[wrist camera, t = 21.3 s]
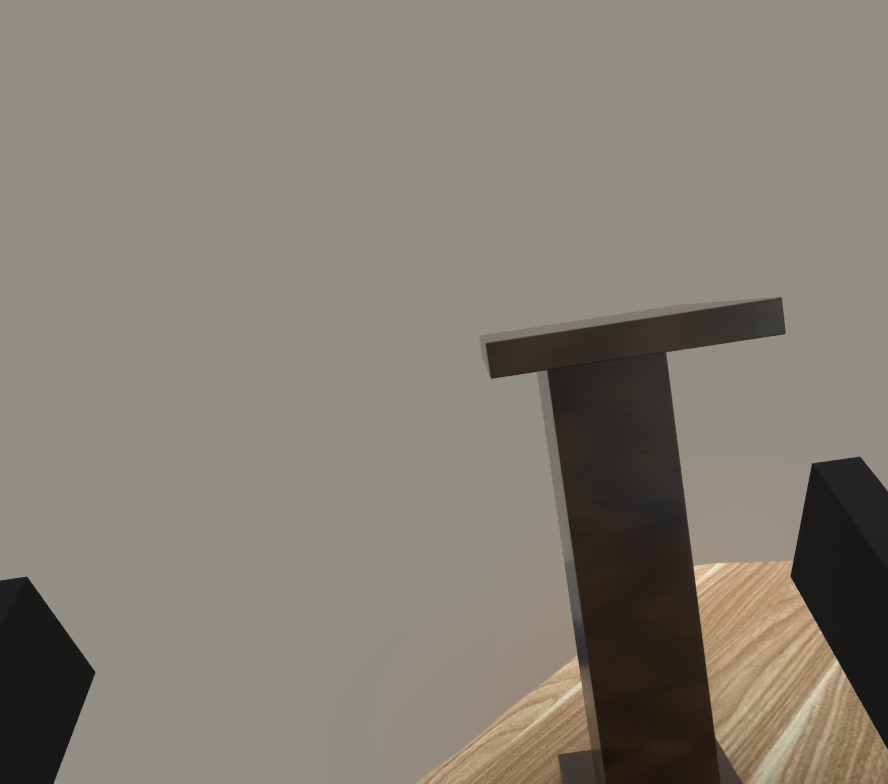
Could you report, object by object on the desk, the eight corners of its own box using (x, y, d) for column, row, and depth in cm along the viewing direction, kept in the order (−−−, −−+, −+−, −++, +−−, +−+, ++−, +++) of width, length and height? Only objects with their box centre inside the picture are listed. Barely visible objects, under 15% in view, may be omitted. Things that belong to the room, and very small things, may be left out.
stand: (580, 980, 32) (485, 342, 30) (544, 773, 47) (479, 335, 45) (855, 949, 32) (782, 297, 29) (731, 749, 47) (675, 305, 44)
